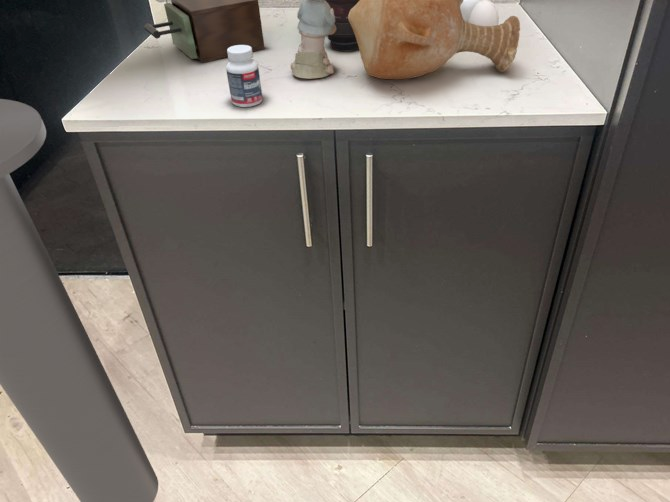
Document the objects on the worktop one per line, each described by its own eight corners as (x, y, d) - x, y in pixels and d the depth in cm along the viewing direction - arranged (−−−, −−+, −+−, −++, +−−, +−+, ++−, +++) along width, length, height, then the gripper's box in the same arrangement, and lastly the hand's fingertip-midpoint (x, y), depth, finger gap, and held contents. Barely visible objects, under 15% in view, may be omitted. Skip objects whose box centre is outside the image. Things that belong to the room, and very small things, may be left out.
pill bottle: (249, 110, 95) (240, 56, 89) (225, 104, 97) (215, 51, 92) (269, 99, 99) (262, 46, 93) (246, 93, 101) (237, 41, 95)
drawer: (164, 65, 110) (153, 22, 105) (147, 49, 117) (136, 8, 112) (250, 46, 117) (244, 5, 112) (229, 32, 124) (222, -7, 119)
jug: (340, -11, 108) (491, 0, 113) (341, 91, 109) (490, 97, 114) (356, -69, 88) (537, -53, 93) (357, 56, 89) (536, 65, 94)
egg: (462, 36, 122) (465, -2, 117) (486, 32, 123) (490, -6, 119) (476, 45, 117) (480, 5, 112) (502, 41, 119) (506, 2, 114)
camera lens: (329, 54, 115) (323, -28, 105) (325, 41, 121) (320, -38, 111) (368, 51, 116) (367, -31, 106) (363, 38, 122) (361, -40, 112)
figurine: (332, 82, 104) (324, -41, 91) (287, 80, 105) (273, -42, 92) (341, 64, 110) (335, -53, 98) (299, 63, 111) (287, -53, 99)
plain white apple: (476, 28, 126) (480, -12, 121) (446, 24, 128) (448, -15, 123) (485, 19, 131) (489, -19, 126) (456, 16, 133) (459, -22, 128)
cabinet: (202, 63, 113) (191, 11, 106) (181, 45, 121) (170, -4, 115) (264, 49, 118) (258, -1, 112) (240, 33, 126) (233, -14, 120)
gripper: (106, -90, 105) (128, -9, 114) (137, -75, 92) (160, 16, 101) (140, -94, 107) (159, -14, 116) (175, -80, 94) (194, 9, 103)
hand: (160, 0), depth 108 cm, fingers closed
